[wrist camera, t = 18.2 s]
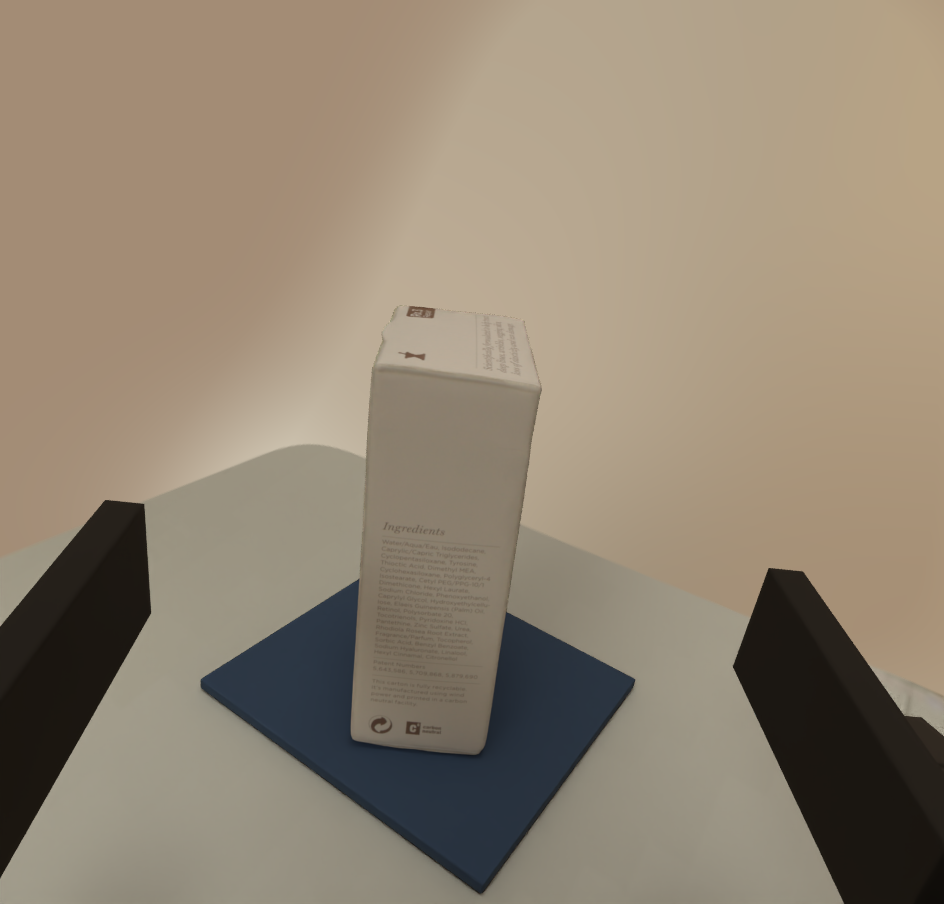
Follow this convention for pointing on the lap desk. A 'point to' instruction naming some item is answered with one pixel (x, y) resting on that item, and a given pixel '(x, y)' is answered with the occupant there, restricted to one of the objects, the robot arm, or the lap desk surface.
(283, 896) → the lap desk surface
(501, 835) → the blue mat
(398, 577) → the cosmetic box
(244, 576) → the lap desk surface
